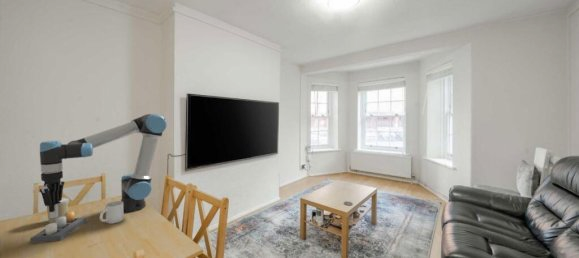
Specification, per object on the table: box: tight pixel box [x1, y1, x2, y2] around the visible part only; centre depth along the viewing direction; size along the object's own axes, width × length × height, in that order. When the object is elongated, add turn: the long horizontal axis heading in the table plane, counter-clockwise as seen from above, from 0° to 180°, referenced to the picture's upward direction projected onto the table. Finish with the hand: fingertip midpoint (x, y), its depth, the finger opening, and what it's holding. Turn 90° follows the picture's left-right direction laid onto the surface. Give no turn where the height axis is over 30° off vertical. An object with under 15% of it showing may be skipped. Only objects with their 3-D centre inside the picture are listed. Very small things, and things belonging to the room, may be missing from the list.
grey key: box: [55, 216, 66, 229], centre depth 120 cm, size 4×4×5 cm
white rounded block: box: [44, 223, 57, 236], centre depth 113 cm, size 4×4×5 cm
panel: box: [30, 217, 87, 244], centre depth 120 cm, size 12×20×2 cm, turn 14°
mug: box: [99, 200, 125, 225], centre depth 131 cm, size 12×8×10 cm
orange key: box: [65, 210, 76, 223], centre depth 126 cm, size 4×4×5 cm
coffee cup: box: [46, 197, 70, 224], centre depth 131 cm, size 9×9×12 cm
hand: (54, 216), depth 115 cm, fingers closed
